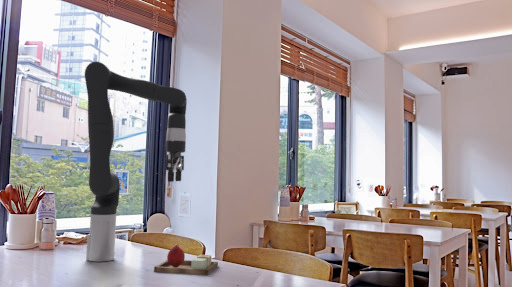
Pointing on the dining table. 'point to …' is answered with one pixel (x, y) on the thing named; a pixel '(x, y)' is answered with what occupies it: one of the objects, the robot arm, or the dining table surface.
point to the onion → (176, 256)
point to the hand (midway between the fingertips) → (174, 181)
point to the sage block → (199, 263)
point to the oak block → (206, 258)
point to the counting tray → (184, 268)
